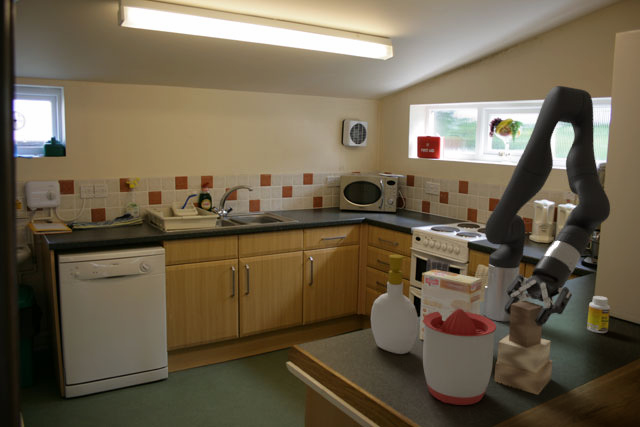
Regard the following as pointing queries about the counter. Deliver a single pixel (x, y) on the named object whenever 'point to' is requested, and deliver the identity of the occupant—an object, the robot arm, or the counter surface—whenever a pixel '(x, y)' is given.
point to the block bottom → (523, 377)
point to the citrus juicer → (458, 356)
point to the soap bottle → (394, 314)
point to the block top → (523, 354)
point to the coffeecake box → (448, 294)
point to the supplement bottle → (598, 315)
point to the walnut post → (525, 324)
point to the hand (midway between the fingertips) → (522, 318)
